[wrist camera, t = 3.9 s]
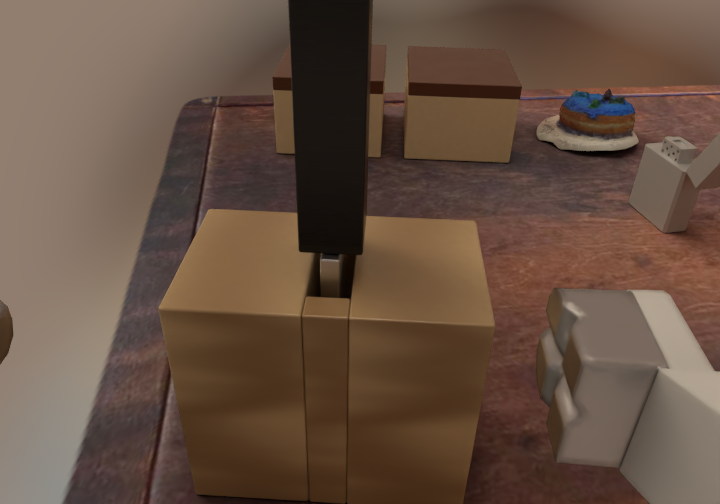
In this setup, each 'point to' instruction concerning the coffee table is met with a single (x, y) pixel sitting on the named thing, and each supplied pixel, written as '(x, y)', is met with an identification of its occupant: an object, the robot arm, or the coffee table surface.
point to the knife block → (330, 361)
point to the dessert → (591, 123)
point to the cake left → (285, 105)
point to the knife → (331, 130)
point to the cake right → (460, 104)
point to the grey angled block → (674, 181)
